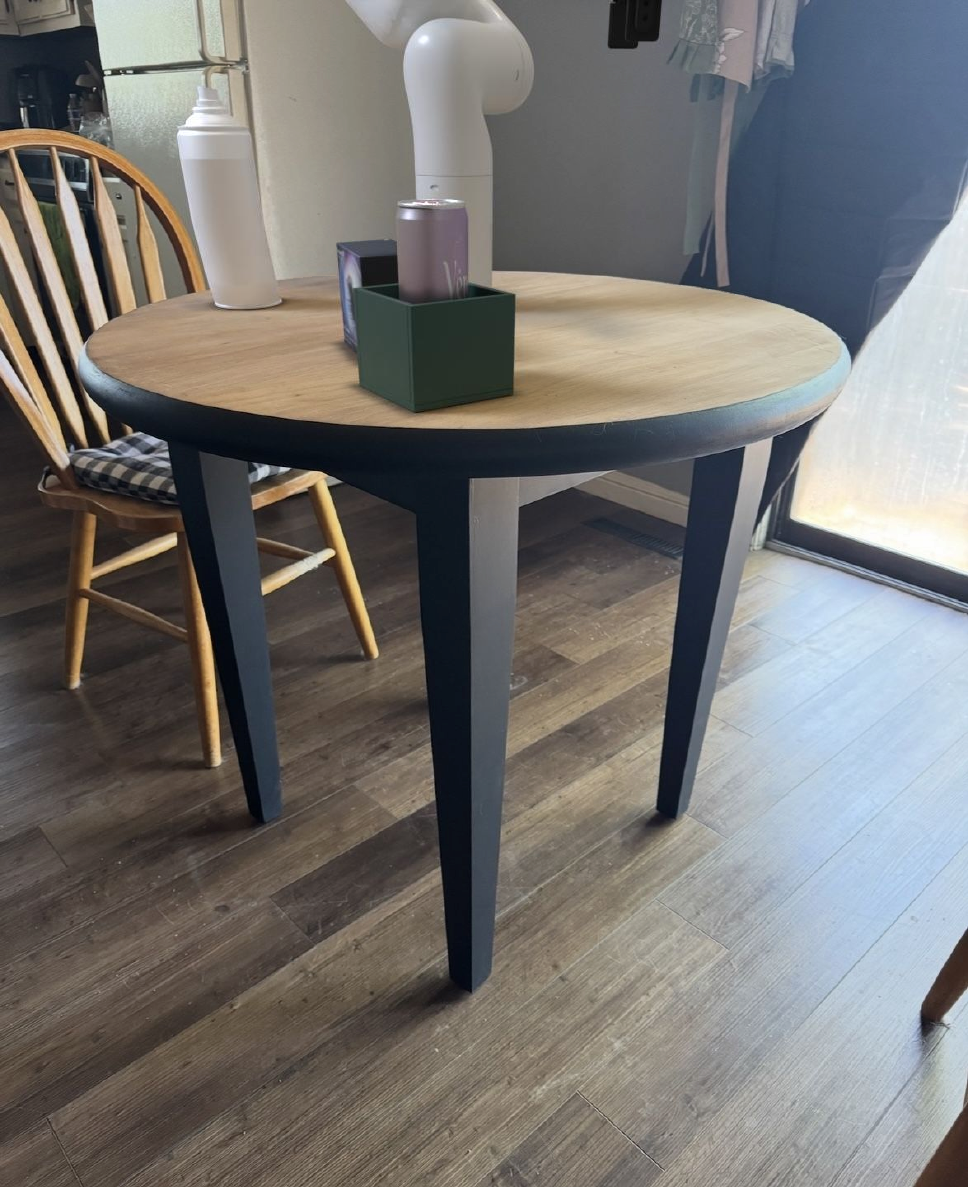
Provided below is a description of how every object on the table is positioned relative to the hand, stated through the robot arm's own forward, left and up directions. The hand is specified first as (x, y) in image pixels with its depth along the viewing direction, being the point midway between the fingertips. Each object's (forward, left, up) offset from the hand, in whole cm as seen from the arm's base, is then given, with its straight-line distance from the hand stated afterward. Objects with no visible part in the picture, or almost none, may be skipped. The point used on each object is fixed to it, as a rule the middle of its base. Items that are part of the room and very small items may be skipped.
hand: (631, 45), depth 89 cm
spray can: (-38, -30, -28) cm, 57 cm away
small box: (-5, -27, -28) cm, 40 cm away
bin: (+11, -30, -28) cm, 43 cm away
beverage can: (+11, -30, -28) cm, 43 cm away
